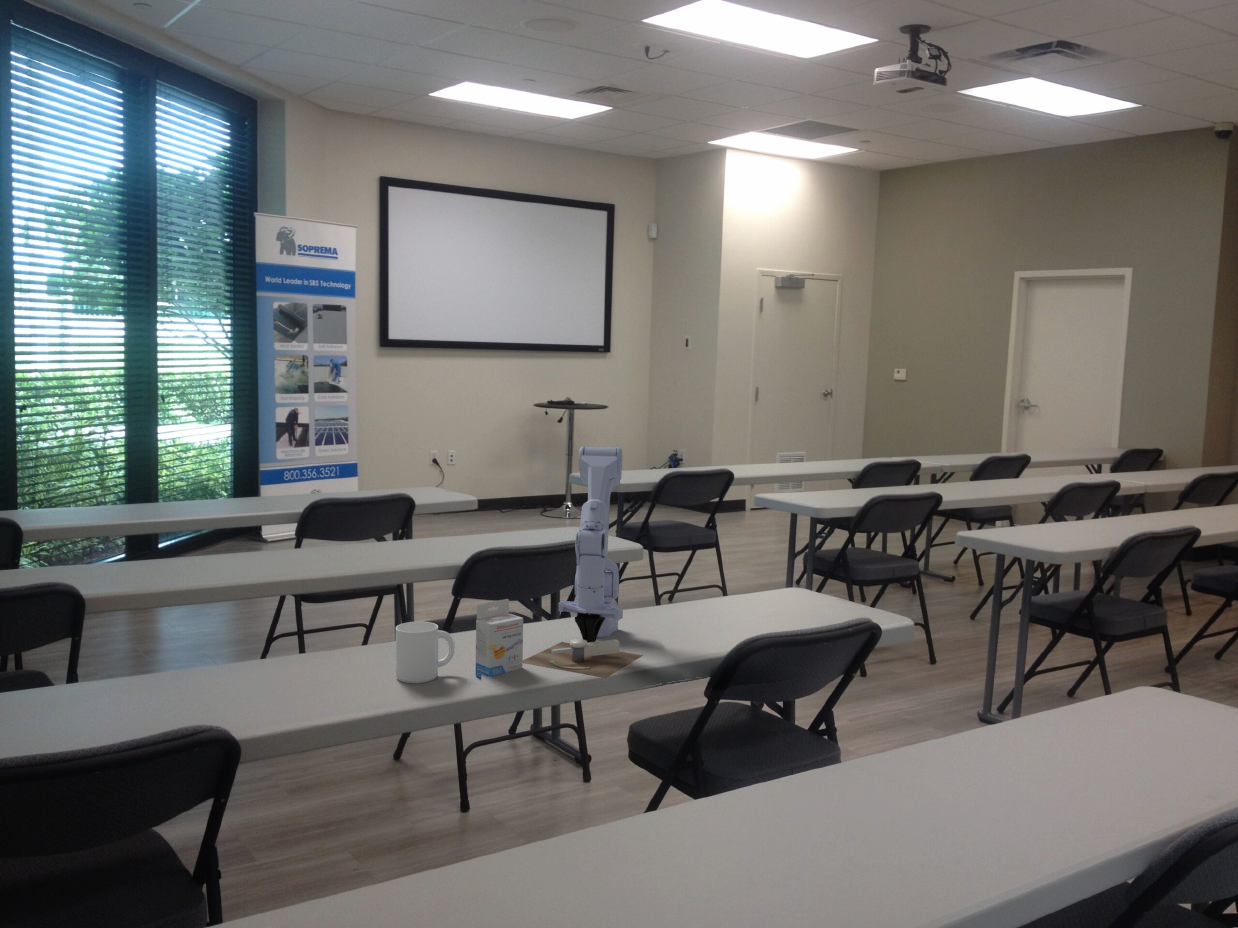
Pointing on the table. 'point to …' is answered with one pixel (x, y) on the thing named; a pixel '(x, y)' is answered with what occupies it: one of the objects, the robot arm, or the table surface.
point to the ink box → (498, 639)
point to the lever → (589, 648)
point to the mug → (420, 651)
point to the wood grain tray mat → (589, 666)
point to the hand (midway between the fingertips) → (589, 647)
